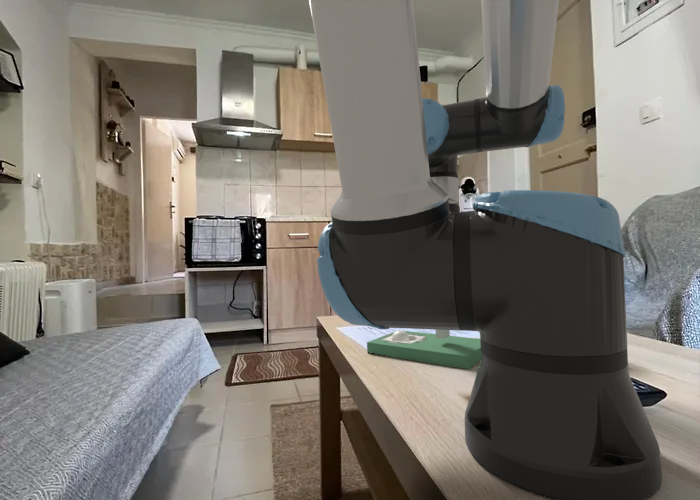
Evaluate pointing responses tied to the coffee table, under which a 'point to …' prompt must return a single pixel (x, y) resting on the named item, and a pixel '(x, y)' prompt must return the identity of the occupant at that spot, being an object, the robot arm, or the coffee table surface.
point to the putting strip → (430, 349)
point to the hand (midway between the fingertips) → (442, 336)
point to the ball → (400, 336)
